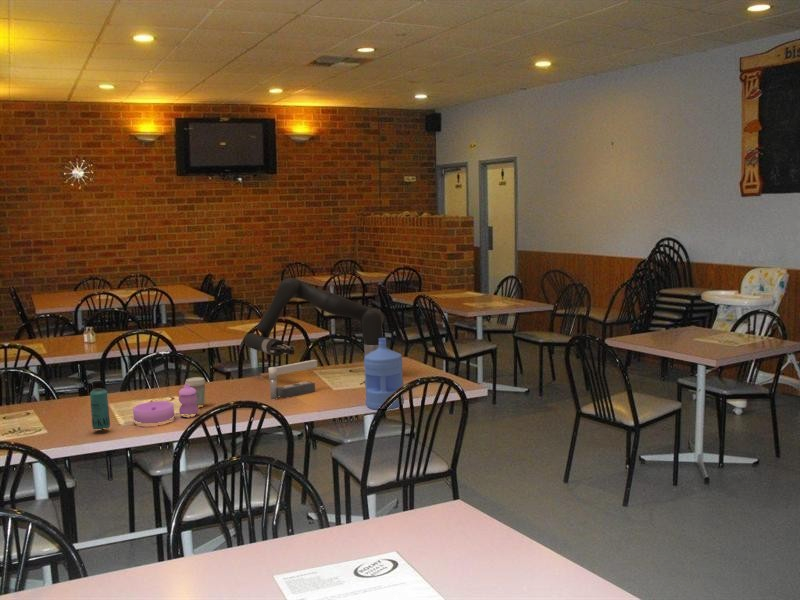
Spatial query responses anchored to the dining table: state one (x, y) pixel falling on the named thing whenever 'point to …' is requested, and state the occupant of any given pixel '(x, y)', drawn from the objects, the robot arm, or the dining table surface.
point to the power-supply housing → (296, 389)
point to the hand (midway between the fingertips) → (292, 352)
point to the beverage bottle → (99, 406)
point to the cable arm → (291, 368)
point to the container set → (166, 407)
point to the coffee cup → (198, 388)
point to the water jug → (382, 376)
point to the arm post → (273, 388)
